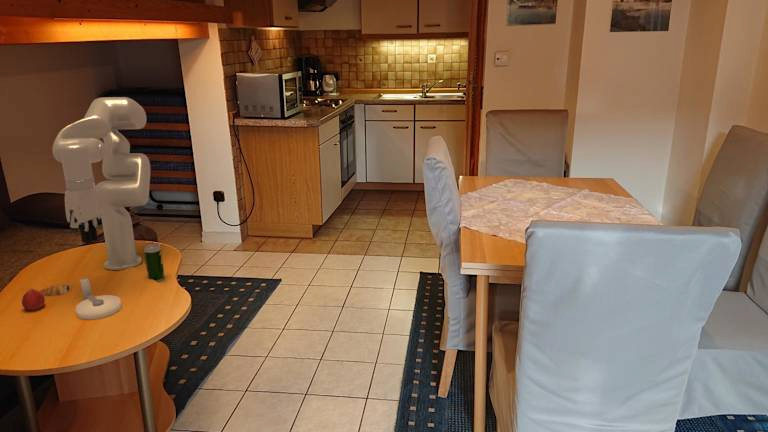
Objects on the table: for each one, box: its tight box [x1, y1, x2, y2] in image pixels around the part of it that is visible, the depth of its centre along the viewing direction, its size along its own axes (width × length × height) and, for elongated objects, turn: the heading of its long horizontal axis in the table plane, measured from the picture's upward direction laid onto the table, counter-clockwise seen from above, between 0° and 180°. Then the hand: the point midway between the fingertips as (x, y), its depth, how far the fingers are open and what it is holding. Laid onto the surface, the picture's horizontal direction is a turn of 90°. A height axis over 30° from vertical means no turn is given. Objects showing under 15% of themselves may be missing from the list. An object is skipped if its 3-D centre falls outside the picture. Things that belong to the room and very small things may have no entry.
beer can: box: [143, 243, 165, 283], centre depth 186 cm, size 5×5×12 cm
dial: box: [75, 278, 122, 321], centre depth 164 cm, size 16×12×7 cm
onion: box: [21, 287, 46, 312], centre depth 164 cm, size 6×6×8 cm
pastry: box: [38, 282, 71, 297], centre depth 175 cm, size 9×7×4 cm
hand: (90, 240), depth 169 cm, fingers closed
